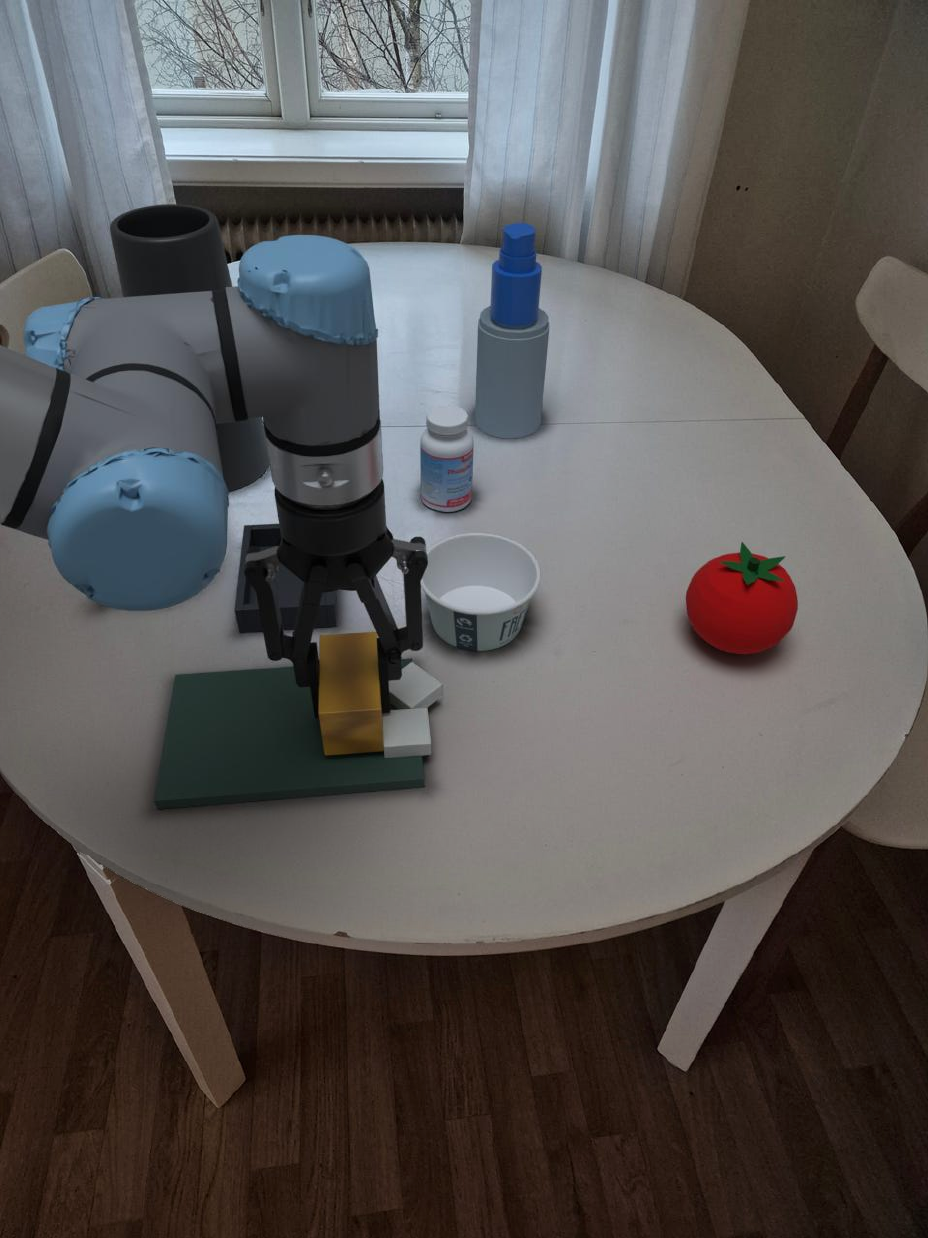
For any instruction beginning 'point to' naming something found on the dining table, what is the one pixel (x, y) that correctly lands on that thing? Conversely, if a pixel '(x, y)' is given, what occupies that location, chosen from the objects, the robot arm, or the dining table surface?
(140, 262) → the vase
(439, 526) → the dining table surface
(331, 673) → the yellow rectangular block
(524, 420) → the spray bottle
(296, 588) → the tray
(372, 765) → the chalkboard
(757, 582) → the tomato
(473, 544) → the food container
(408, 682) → the white square block
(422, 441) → the pill bottle
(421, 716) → the grey square block
